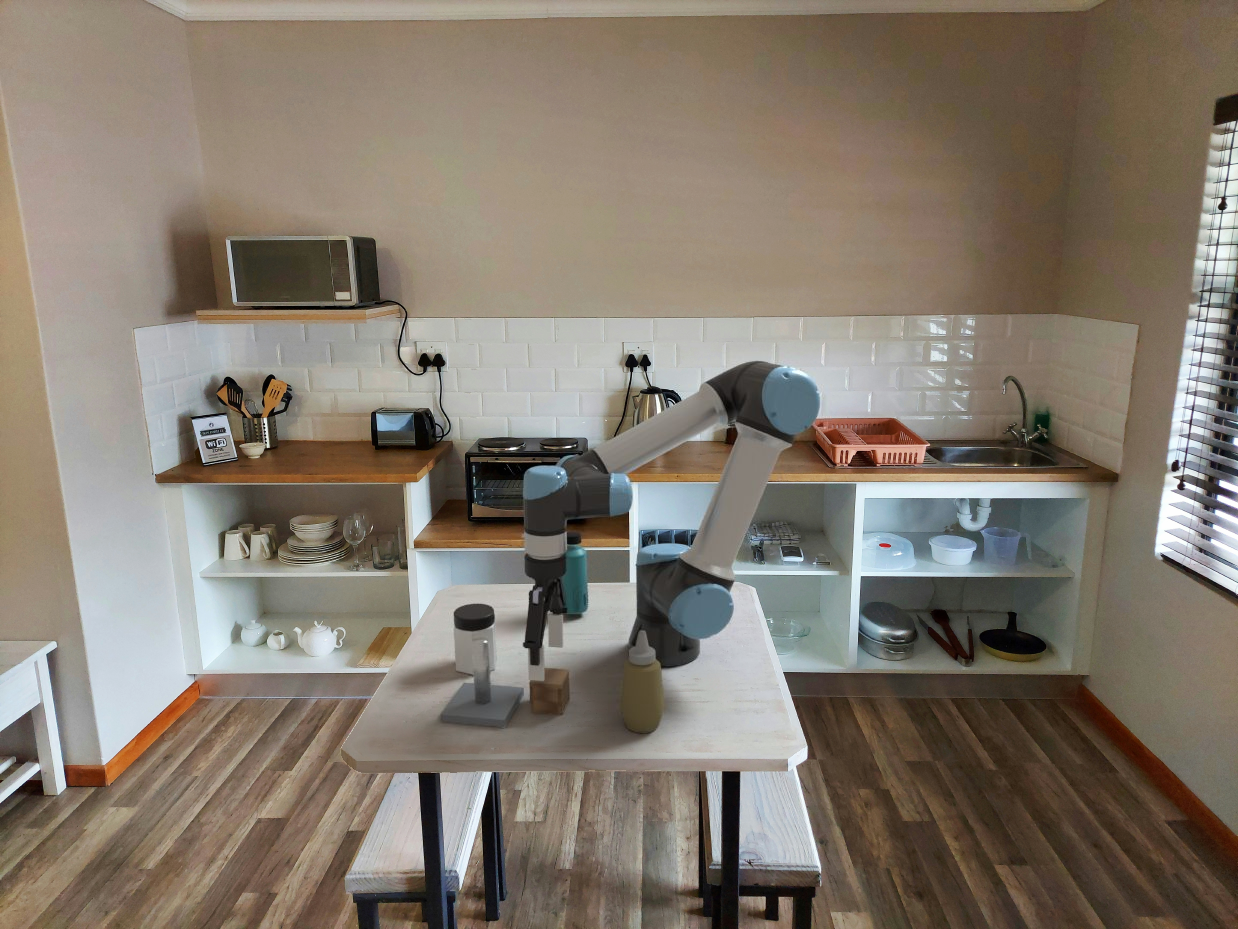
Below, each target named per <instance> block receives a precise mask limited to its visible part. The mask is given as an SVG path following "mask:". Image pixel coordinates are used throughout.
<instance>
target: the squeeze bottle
mask: <svg viewBox="0 0 1238 929" xmlns="http://www.w3.org/2000/svg"><path fill="white" fill-rule="evenodd" d="M661 667H662V666H661V665H660V662H659V661H657V660H656V659H655V650H654V649H653V648H652V647H649V645H648V640H647V636H646V632H645V631H644V630H641V631H639V633H638V637H637V642H636V646H635V647H633V648H631V649H630V650H629V649H628V659H626V661H625V662H624V663H623V670H622V671H623V672H622V681H621V689H620V699H619V700H620V701H619V710H620V712H621V716H622V718H623V720H624V724H625V726H626V727H627V728H628V730H630V731H632V732H634V733H639V734H640V733H641V734H643V733H651V732H654V731H655V730H657V729H658V727H659V725H660V724H661V720H662V717H663V714H664V712H665V709H666V704H665V695H664V685H663V675H662V668H661Z"/></svg>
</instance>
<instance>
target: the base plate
mask: <svg viewBox="0 0 1238 929" xmlns="http://www.w3.org/2000/svg"><path fill="white" fill-rule="evenodd" d="M524 691H525V689H524V687H522V686H511V685H510V686H509V685H499V684H497V685H496V684H491V702H490V703H488V704H484V705H480V704H477V703H475V692H474V682H473V683H472V682H463V683H462V684H461V685H460V687H459V688H458V690H457V691H456V692H455V693H454V695H453V697H451V699H450V701H449V702H448V704H446V706H445V707H444V709H443V710H442V711H441V713H440V715H439V716H440V722H441V723H448V722H450V724H459V723H461V724H460V725H469V726H472V725H473V724H474V725H473V726H480V725H481V726H482V725H483V727H491V726H494V727H493V728H502V727H505V728H506V726H507V725H508V723H509V720H511V718H512V716H513V714H514V712H515V711H516V709H517V708H518V705H519V704H520V702H521V701H522V698H523V697H524V695H525V693H524ZM470 724H471V725H470ZM506 724H507V725H506ZM481 726H480V727H481Z"/></svg>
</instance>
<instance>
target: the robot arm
mask: <svg viewBox="0 0 1238 929" xmlns="http://www.w3.org/2000/svg"><path fill="white" fill-rule="evenodd" d="M820 408H821V394H820V392H819V389H818V387H817V384H816V382H815V381H814V379H813V378H812V377H811V376H809V374H807V373H806V372H805V371H801V370H799V369H797V368H796V367H791V366H788V365H781V364H775V363H771V362H767V361H763V360H751V361H745V362H744V363H741V364H737V365H736V366H733V367H731V368H730V369H727V370H725V371H723V372H721V373H719V374H717V375H715V376H713V377H712V378H709V379H708V380H707V381H704V382H702V383H700V386H699V389H698V391H697V392H695V393H693V394H691V395H689V396H688V397H686V398H684V399H682V400H680V401H679V402H677V403H674V404H673V405H671V406H669V407H667V408H666V409H664V410H662V411H659V413H656V414H655V415H653V416H651V417H649V418H647V419H646V420H644V421H642V422H640V423H639V424H637V425H635V426H632V427H631V428H629V429H628V430H626V431H624V432H622V433H620V434H618V435H616V436H614V437H612V438H611V439H609V440H607V441H605V442H604V443H602V444H599V445H597V447H594V448H592V449H590V450H588V451H586V452H585V453H583V454H581V455H574V454H573V455H571V454H570V455H566V456H564V457H562V458H561V459H559V461H558V462H557V463H556V464H555V465H537V466H533V467H530V468H528V469H527V470H526V471H525V472H524V474H523V487H522V488H523V489H522V490H523V491H522V497H523V520H524V521H523V525H524V527H523V532H524V533H522V534H521V539H522V540H524V552H525V553H524V554H525V555H524V560H523V561H524V573H525V575H526V577H529V578H530V579H533V581H534V584H533V585H532V590H529V591H528V607H527V616H526V626H525V632H524V633H525V634H524V642H522V647H523V648H524V649H527V653H528V654H527V660H528V663H527V665H528V667H527V668H528V680H529V681H530V680H535V681H544V680H545V669H544V668H545V645H544V644H543V642H544V636H545V630H546V625H547V626H548V627H547V628H548V632H547V634H548V635H547V637H548V647H550V648H557V649H563V648H564V614H565V615H566V614H568V613H567V610H568V609H567V608H565V605H566V599H565V593H564V587H563V581H562V576H564V575H565V574H566V571H567V555H566V554H565V552H566V551H567V532H568V531H567V521H568V520H578V519H589V518H590V519H592V518H601V517H602V518H603V517H614V516H619V515H625V514H628V512H630V510H631V509H632V506H633V501H634V494H633V487H632V483H631V480H630V478H629V477H628V474H629V473H631V472H634V471H635V470H636V469H639V468H640V467H642V466H644V465H645V464H647V463H649V462H651V461H653V460H654V459H657V458H658V457H660V456H663V455H664V454H666V453H668V452H669V451H671V450H673V449H675V448H677V447H678V446H680V445H682V444H684V443H686V442H687V441H689V440H691V439H693V438H695V437H697V436H699V435H700V434H702V433H704V432H705V431H707V430H709V429H711V428H713V427H715V426H717V425H718V426H721V427H726V426H727V425H728V424H730V423H732V422H734V425H735V428H736V431H737V436H736V439H735V442H734V445H733V446H732V449H731V451H730V454H729V456H728V458H727V460H726V463H725V465H724V468H723V470H722V473H721V475H720V477H719V480H718V482H717V485H716V488H715V489H714V492H713V495H712V497H711V499H710V502H709V504H708V506H707V509H706V511H705V514H704V515H703V519H702V520H701V523H700V526H699V527H698V530H697V532H696V535H695V537H694V540H693V542H692V545H691V546H689V545H686V544H681V543H658V544H650V545H647V546H644V547H642V548H640V549H639V551H637V554H636V561H635V562H636V563H635V565H634V566H635V579H636V581H635V582H636V583H635V584H636V585H635V586H636V588H635V589H636V591H635V592H636V593H635V594H636V617H635V619H634V623H633V624H632V625H633V626H632V628H631V631H630V635H629V638H628V643H627V644H628V646H627V647H628V651H629V650H630V649H631V648H633V647H635V646H636V642H637V637H638V633H639V631H641V630H644V631H645V632H646V636H647V640H648V645H649V647H652V648H653V649H654V650H655V659H656V660H657V661H659V662H660V665H661V667H677V666H681V665H685V664H688V663H690V662H692V661H694V660H695V659H697V657H699V655H700V653H701V640H704V639H710V638H711V637H713V636H716V635H717V634H719V633H721V632H722V631H723V630H724V629H725V628H726V627H727V626H728V625H729V623H730V622H731V620H732V618H733V613H734V609H735V608H734V607H735V605H734V604H735V603H734V602H733V601H734V600H733V597H732V595H731V590H732V588H733V586H734V583H735V581H736V574H735V572H734V570H733V565H734V563H735V560H736V557H737V555H738V553H739V550H740V549H741V546H742V544H743V541H744V539H745V537H746V535H747V532H748V529H749V527H750V525H751V522H752V520H753V518H754V515H755V514H756V511H757V508H758V507H759V503H760V502H761V499H762V497H763V494H764V492H765V489H766V487H767V486H768V485H767V484H768V482H769V480H770V478H771V476H772V473H773V471H774V468H775V466H776V464H777V461H778V458H779V456H780V454H781V453H782V452H783V451H784V450H787V449H789V448H790V447H792V446H793V444H794V442H795V440H796V437H797V435H798V434H800V433H803V432H804V431H805V430H809V428H810V427H812V426H813V425H814V423H815V421H816V420H817V418H818V415H819V413H820ZM563 606H564V607H563ZM549 612H550V613H549ZM547 621H548V624H547Z"/></svg>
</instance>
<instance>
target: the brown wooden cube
mask: <svg viewBox="0 0 1238 929" xmlns="http://www.w3.org/2000/svg"><path fill="white" fill-rule="evenodd" d="M544 669H545V680H544V681H535V680H529V683H528V685H529V687H528V688H529V710H530V711H529V712H530V713H536V714H537V713H539V714H548V715H549V714H550V715H560V716H562V715H563V714H564V712H565V709H566V708H567V705H568V703H569V701H570V698H571V694H570V669H567V668H556V667H555V668H554V667H553V668H552V667H544Z"/></svg>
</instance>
